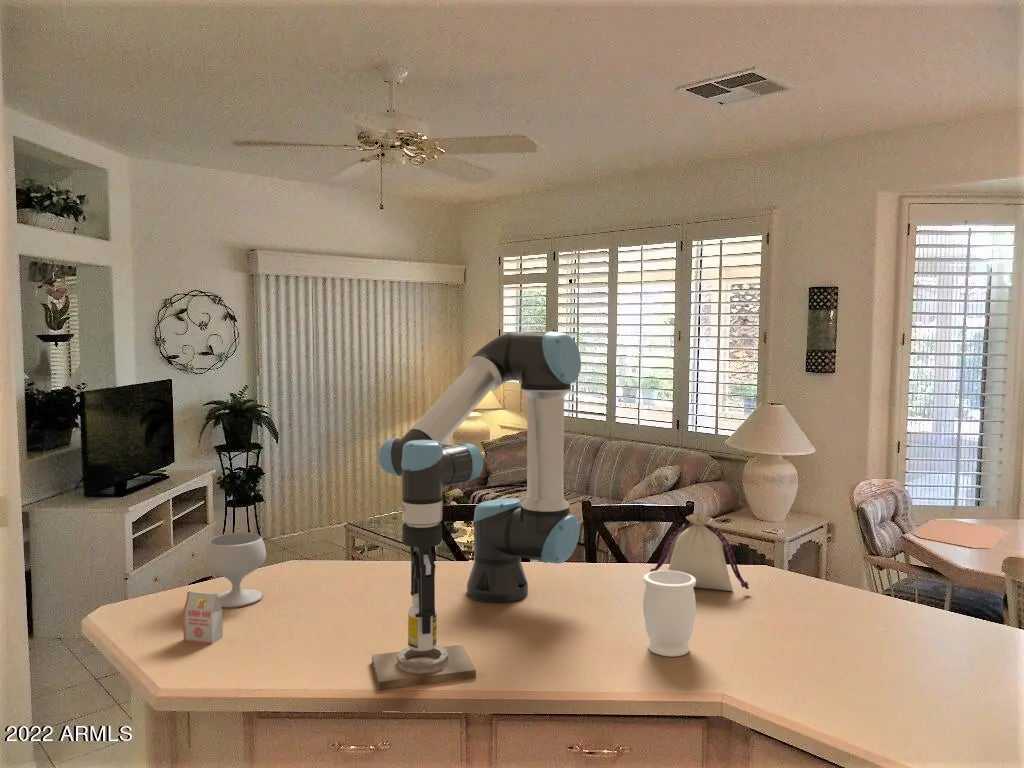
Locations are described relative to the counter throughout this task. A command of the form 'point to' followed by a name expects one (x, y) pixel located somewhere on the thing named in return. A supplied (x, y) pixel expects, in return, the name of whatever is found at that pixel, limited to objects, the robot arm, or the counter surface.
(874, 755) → the counter surface
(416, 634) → the supplement bottle
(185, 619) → the white carton
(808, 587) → the counter surface
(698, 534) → the pouch
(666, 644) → the jar
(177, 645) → the counter surface
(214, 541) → the chalice
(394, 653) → the mount board
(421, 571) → the robot arm
